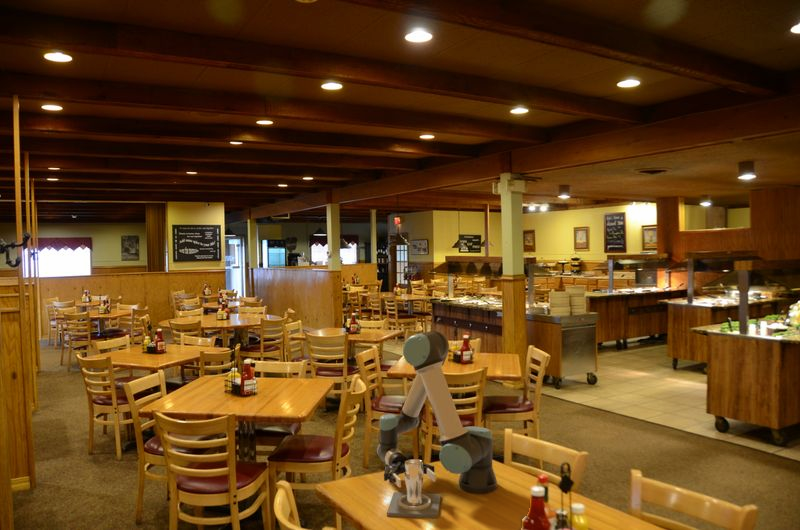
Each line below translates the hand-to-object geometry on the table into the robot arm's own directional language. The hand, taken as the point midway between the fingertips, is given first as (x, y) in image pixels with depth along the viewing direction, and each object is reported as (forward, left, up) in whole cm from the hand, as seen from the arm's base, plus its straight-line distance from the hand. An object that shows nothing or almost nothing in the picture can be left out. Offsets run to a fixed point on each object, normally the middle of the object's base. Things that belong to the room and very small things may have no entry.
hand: (417, 480), depth 212 cm
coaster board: (+1, -3, -10) cm, 11 cm away
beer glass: (+2, -3, -10) cm, 10 cm away
